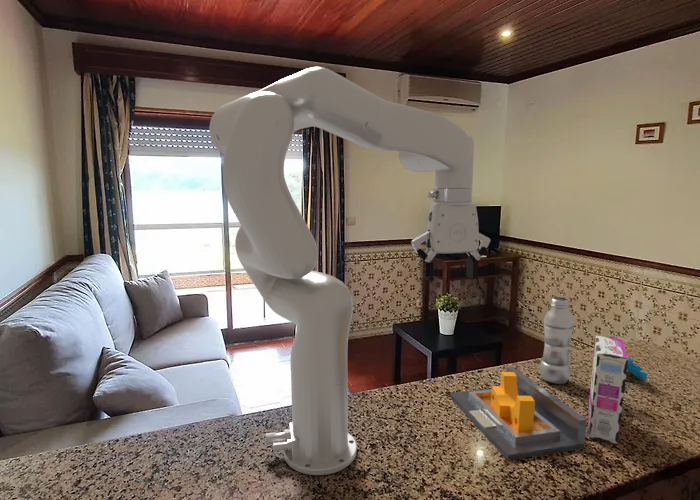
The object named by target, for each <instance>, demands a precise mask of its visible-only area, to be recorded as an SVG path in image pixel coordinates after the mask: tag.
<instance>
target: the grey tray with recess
mask: <svg viewBox="0 0 700 500" xmlns="http://www.w3.org/2000/svg"><path fill="white" fill-rule="evenodd" d="M506 372H514V373H515V374H516V376H517V390H518V395H519V396H532V398H533V399H534V401H535V407H534V422H533V431H532V432H525V433H517V431H516V429H515V427H514V426H513V424H512V422H511V420H510V419H509V417H499V415H498V413H497V411H496V409H495V407H494V405H493V403H492V402H491V391H492V387H491V388H485V389H484V388H483V389H475V390H468V391H467V390H464V391H457V392H450V394H449V398H450V399H451V401H452V402H453V403H454V404H455V405H457V407H458V408H459V409H460V410H461V411H462V413H464V415H465V416H466V417H467V418H468V419H469V420H470V421H471V422H472V423H473V424H474V425H475V426H476V427H477V429H478V430H479V431H480V432H481V433H482V434H483V435H484V436H485V437H486V438H487V440H488V441H490V443H491V444H492V445H493V446H494V447H495V448H496V449H497V451H499V452H500V454H501V455H502V456H503V457H504V458H505V459H506V460H507V461H511V460H519V459H525V458H530V457H532V458H533V457H537V456H543V455H551V454H559V453H564V452H569V451H576V450H582V449H585V444H586V442H585V441H586V431H587V420H588V419H587V418H585V417H584V416H582V415H581V414H579V413H578V412H577V411H576V410H574V409H573V408H571V407H570V406H569V405H567V404H566V403H564V402H563V401H562V400H560V399H559V398H557V397H555V396H554V395H553V394H551V393H550V392H549V391H547V390H546V389H545V388H543V387H542V386H540V385H539V384H538V383H536V382H535V381H533V380H532V379H530V378H529V377H527V376H526V375H524V374H523V373H522V372H520V371H519V370H517V369H516V368H515V367H511V366H510V367H506Z"/></svg>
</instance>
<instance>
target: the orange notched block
mask: <svg viewBox="0 0 700 500" xmlns="http://www.w3.org/2000/svg"><path fill="white" fill-rule="evenodd" d="M491 388H492V391H491V402H492V403H493V405H494V407H495V409H496V411H497V413H498V415H499V417H509V419H510V420H511V422H512V424H513V426H514V427H515V429H516V431H517V433H525V432H532V431H533V422H534V407H535V401H534V399H533V398H532V396H519V395H518V390H517V376H516V374H515V373H514V372H507V371H501V372H500V385H499V386H498V385H497V386H495V385H494V386H493V385H492V386H491Z"/></svg>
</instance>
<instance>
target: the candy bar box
mask: <svg viewBox="0 0 700 500" xmlns="http://www.w3.org/2000/svg"><path fill="white" fill-rule="evenodd" d="M628 358H629V356H628V354H627V350H626V346H625V341H624V340H623V339H621V338H616V337H615V338H614V337H610V336H601V335H595V344H594V352H593V360H592V371H591V381H590V390H589V391H590V392H589V400H588V401H589V402H588V412H587V415H588V419H587V420H588V438H590V439H594V440H598V441H602V442H604V443H609V444H613V445H619V440H620V432H621V423H622V416H623V415H622V414H623V408H624V407H623V406H624V399H625V398H624V397H625V389H626V381H627V372H628V370H627V365H628Z"/></svg>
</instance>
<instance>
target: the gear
mask: <svg viewBox="0 0 700 500" xmlns="http://www.w3.org/2000/svg"><path fill="white" fill-rule="evenodd" d="M627 372H628V373H630V374H631V375H635V376H636V377H637V379H639V378H640V379H639V380H641V379H642V380H643V381H645V380H646V379H648V374H647V373H646V372H644V371H643V368H642V367H640V366H639V365H637V364H636V365H635V364H634V360H633V359H632V358H630V357H628V365H627Z"/></svg>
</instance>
